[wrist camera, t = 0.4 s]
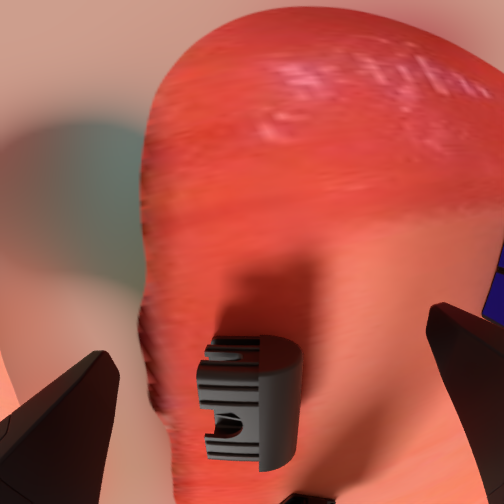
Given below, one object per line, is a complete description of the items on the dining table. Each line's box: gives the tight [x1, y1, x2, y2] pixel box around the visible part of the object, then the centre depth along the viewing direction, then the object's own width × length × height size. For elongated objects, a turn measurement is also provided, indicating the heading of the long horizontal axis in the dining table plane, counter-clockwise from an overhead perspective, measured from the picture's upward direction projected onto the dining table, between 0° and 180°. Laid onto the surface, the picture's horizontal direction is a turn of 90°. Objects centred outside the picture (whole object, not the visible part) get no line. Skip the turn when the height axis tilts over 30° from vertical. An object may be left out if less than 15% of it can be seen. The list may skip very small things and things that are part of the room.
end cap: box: [196, 335, 303, 472], centre depth 21 cm, size 10×7×7 cm
